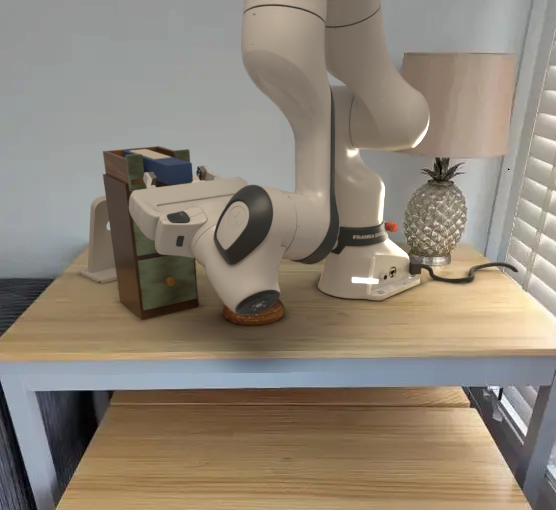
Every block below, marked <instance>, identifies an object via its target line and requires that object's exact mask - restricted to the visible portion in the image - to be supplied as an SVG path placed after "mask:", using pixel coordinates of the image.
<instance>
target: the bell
mask: <svg viewBox="0 0 556 510" xmlns="http://www.w3.org/2000/svg"><path fill="white" fill-rule="evenodd" d="M222 313H223V317H224V318H225V320H226V321H230V322H232V323H234V324H236V325H244V326H261V325H267V324H271V323H275V322H276V321H279V320H280V319H282V317H283V316H284V315H285V314H284V313H285V305H284V303H283V302H282V300H281V299H280V298H279V299H278V301H277V302H276V303H275V304H274V305H273V306H271V307H270V308H268V309H267V310H265V311H262V312H260V313H257V314H251V315H240V314H236V313H234V312H232V311H231V310H230V309H229V308H228V307H227V306H226V305H225V304H224V306H223V310H222Z"/></svg>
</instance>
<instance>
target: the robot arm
mask: <svg viewBox="0 0 556 510" xmlns="http://www.w3.org/2000/svg"><path fill="white" fill-rule="evenodd" d="M381 1H382V0H244V1H243V2H244V3H243V10H242V22H241V32H240V33H241V34H240V50H241V51H240V52H241V59H242V65H243V67H244V70H245V71H246V74H247V75H248V77H249V79H250V80H251V82H252V83H253V84H254V85H255V87H256V88H257V89H258V90H259V91H260V92H261V93H262V94H263V95H264V96H266V97H267V98H268V99H269V100H270V101H271V102H272V103H273V104H274V105H275V106H276V107H277V108H278V109H279V111H280V112H281V114H282V115H283V116H284V118H285V119H286V120H287V122H288V124H289V125H290V128H291V130H292V134H293V138H294V181H295V182H294V186H295V187H294V192H292V191H286V190H283V189H279V188H275V187H270V186H265V185H258V184H248V181H246V180H245V179H244V178H242V177H239V176H235V177H234V176H233V177H227V178H222V176H221V175H218V174H217V173H215V172H213V171H211V170H210V169H209V168H208V166H207V165H199V166H197V167H196V173H195V174H196V175H197V176H198V177H199V179H200V181H202V182H195V183H187V184H179V185H172V186H164V187H156V181H157V177H156V175H154V172H145V173H144V177H143V180H144V183H145V184H146V189H141V190H134V191H133V192H132V193H131V195H130V199H129V212H130V214H131V216H132V218H133V220H134V221H135V223H136V224H137V226H138V227H139V229H140V230H141V231H142V233H143V234H144V235H145V236H146V237H148V238H149V239H151V240H154V241H155V249H156V251H157V252H158V253H159V254H162V255H176V256H184V257H190V258H195V261H196V262H197V263H198V264H199V265H200V266H202V267H203V270H204V273H205V276H206V279H207V281H208V282H209V284H210V286H211V287H212V289H213V290H214V292H215V293H216V295H217V296H218V298H219V300H220V301H221V302H222V303H223V304H224V306H225V305H226V306H227V307H228V308H229V309H230V310H231V311H232V312H234V313H236V314H240V315H251V314H257V313H260V312H262V311H265V310H267V309H268V308H270V307H271V306H273V305H274V304H275V303H276V302H277V301H278V299H280V298H281V289H280V285H279V272H280V266H281V263H282V260H285V261H286V260H288V261H290V262H295V263H300V264H304V265H316V264H318V263H320V262H322V261H323V264H322V269H321V274H320V277H319V281H318V284H317V288H318V289H319V290H320V291H321V292H323V293H324V294H326V295H329V296H333V297H336V298H341V299H342V298H343V299H354V300H356V299H357V300H358V299H359V300H370V301H383V300H386V299H388V298H390V297H393V296H394V295H397V294H400V293H401V292H404V291H406V290H409V289H411V288H415V286H418V285H420V284H421V278H420V277H419V276H418V275H421V274H422V269H425V270H426V271H427V272H428V274H429V277H430V278H432V279H433V280H435V281H438V282H439V281H440V282H446V283H453V284H454V283H455V284H457V283H458V284H459V283H466V282H470V281H473V280H474V279H475V277H476V275H475V271H477V270H481V269H487V268H492V267H502V268H507V269H508V270H510V271H512V272H513V273H519V270H518V269H517V267H515V266H514V265H513V264H511V263H508V262H503V261H501V262H500V261H496V262H495V261H494V262H487V263H482V264H477V265H473V266H471V267H470V269H469V275H470V276H465V277H460V278H459V277H457V278H447V277H441V276H438V275H436V274H435V273H434V270H433V268H432V267H431V266H430V265H428V264H426V263H425V264H424V263H422V262H420V261H419V260H418V259H416V258H415V257H414V256H409V255H408V253H407V252H406V251H404V250H403V249H402V248H401V247H399V245H397V244H396V243H395V242H394V241H393V240H391V239H390V238H389V234H388V232H391V233H393V234H394V233H397V231H398V230H399V224H398V223H397V222H393V221H392V220H390V221H389V220H388V221H387V222H386V221H385V220H384V207H385V195H386V187H385V186H386V185H385V182H384V181H383V179H382V176H380V174H378V173H377V172H376V171H375V170H374V169H372V168H370V167H368V166H367V164H366V163H365V162H364V161H363V158H362V156H361V153H360V150H365V151H379V152H396V151H403V150H408V149H414V148H415V147H417V146H418V145H419V144H420V143H421V142H422V141H423V139H424V138H425V136H426V134H427V131H428V130H429V126H430V121H431V112H430V106H429V103H428V101H427V99H426V98H425V96H424V94H423V93H422V92H420V91H419V90H417V89H416V88H414V87H413V86H412V85H411V84H410V83H409V82H407V81H406V80H405V79H404V77H403V76H402V75H401V73H400V72H399V71H398V70H397V68H396V66H395V65H394V62H393V61H392V59H391V57H390V54H389V52H388V47H387V42H386V36H385V30H384V22H383V13H382V11H383V10H382V3H381ZM328 74H330V76H332V77H333V78H335V79H337V80H339V81H340V82H342V83H343V84H344V85H335V84H334V85H333V84H330V81H329V77H328ZM203 180H205V181H203ZM503 393H504V388H503V387H500V388H499V390H498V393H497V394H498V395H497V401H499V402H501V401H502V399H503Z"/></svg>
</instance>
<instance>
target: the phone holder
mask: <svg viewBox="0 0 556 510" xmlns="http://www.w3.org/2000/svg"><path fill="white" fill-rule="evenodd" d="M89 215H90V216H89V236H88V259H87V260H88V261H87V267H86V268H82V269H81V270H80V271H79V272H80V275H81V276H83V277H85V278H87V279H90V280H92V281H95V282H97V283H101V284H105V283H109V282H114V281H117V275H116V267H115V260H114V253H113V245H112V238H111V231H110V229H108V228H107V226H108V224H109V216H108V209H107V201H106V195H102V196H98V197H96V198H94V200H93V201H92V202H91V204H90V214H89Z"/></svg>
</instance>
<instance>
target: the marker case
mask: <svg viewBox="0 0 556 510" xmlns="http://www.w3.org/2000/svg"><path fill="white" fill-rule="evenodd" d="M132 154H142V159H143V168H144V173H145V172H154V175H156V177H157V180H158V181H160V182H163V183H165V184H168V185H171V184H179V183H187V182H193V174H194V173H193V163H192V162H191V161H190V162H187V161H184V160H181V159H177V158H174V157H171V156H168V155H165V154H161V153H158V152H155V151H152V150H148V149H134V150H123V156H124V158H125V155H132Z"/></svg>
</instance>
